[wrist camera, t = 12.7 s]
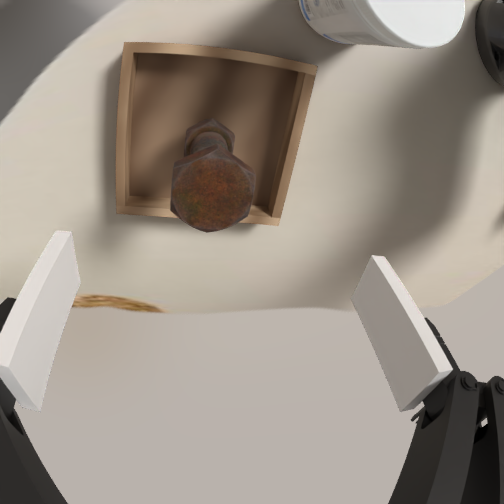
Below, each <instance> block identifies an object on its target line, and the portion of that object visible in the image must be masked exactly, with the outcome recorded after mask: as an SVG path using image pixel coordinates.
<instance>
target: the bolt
mask: <svg viewBox="0 0 504 504" xmlns="http://www.w3.org/2000/svg"><path fill="white" fill-rule="evenodd" d="M234 142H235V135H234V133H233V132H232V131H231V130H229V129H228V128H227V127H225V126H224V125H223V124H221V123H220V122H218V121H217V120H215V119H213V118H210V119H204V121H200V122H198V123H197V124H195V125H193V126H191V127H189V128H187V130H186V137H185V146H184V157H183V158H182V159H179V160H177V161H175V162H174V166H173V174H172V184H171V199H170V211H171V212H172V213H174V214H175V215H176V216H177V217H178V218H179V219H181V220H182V221H184V222H185V223H187V224H188V225H190V226H192V227H193V228H196V229H198V230H201V231H204V232H214V231H218V230H222V229H225V228H228V227H230V226H233V225H235V224H237V223H238V222H240V221H242V220H243V219H245V218H246V217H248V215H249V212H250V209H251V205H252V200H253V194H254V189H255V181H256V174H255V172H254V169H253V168H251V167H250V166H249V165H247V164H246V163H244V162H243V161H242V160H240V159H239V158H238V157H236V156H235V155H233V149H234Z"/></svg>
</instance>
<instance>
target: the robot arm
mask: <svg viewBox="0 0 504 504" xmlns="http://www.w3.org/2000/svg"><path fill="white" fill-rule="evenodd" d="M476 37H477V43H478V48H479V51H480V55H481V57H482V60H483V62H484V65H485V67H486V69H487V70H488V72H489V73H490V75H491V76H492V77H493V78H494V80H495V81H497V82H498V83H499V84H501V85H502V86H504V0H483V1H482V3H481V4H480V6H479V9H478V12H477V17H476ZM80 283H81V281H80V276H79V271H78V265H77V260H76V254H75V248H74V242H73V235H72V231H58V230H56V231H55V233H54V234H53V236H52V238H51V239H50V241H49V242H48V244H47V246H46V247H45V249H44V251H43V252H42V254H41V256H40V257H39V259H38V261H37V263H36V264H35V266H34V268H33V269H32V271H31V273H30V275H29V277H28V278H27V280H26V282H25V284H24V286H23V288H22V290H21V292H20V293H19V295H18V297H17V299H14V298H7V299H6V300H4V301H3V303H1V304H0V504H68V503H67V502H66V500H65V499H64V497H63V496H62V494H61V493H60V492H59V490H58V488H57V487H56V485H55V484H54V482H53V480H52V479H51V477H50V476H49V474H48V472H47V471H46V469H45V467H44V465H43V464H42V462H41V460H40V458H39V457H38V455H37V453H36V451H35V449H34V447H33V446H32V443H31V442H30V440H29V438H28V436H27V434H26V432H25V430H24V427H23V425H22V423H21V421H20V419H19V417H18V415H17V412H16V411H15V409H14V405H15V401H16V400H17V402H18V403H19V404H20V406H21V407H22V408H26V409H30V410H34V411H38V412H41V407H42V403H43V399H44V394H45V391H46V387H47V383H48V379H49V376H50V372H51V368H52V365H53V361H54V358H55V355H56V352H57V348H58V345H59V342H60V339H61V336H62V333H63V330H64V327H65V324H66V321H67V318H68V315H69V312H70V310H71V307H72V304H73V302H74V299H75V296H76V294H77V291H78V288H79V286H80ZM351 300H352V302H353V304H354V306H355V309H356V311H357V313H358V315H359V317H360V319H361V321H362V324H363V326H364V328H365V330H366V332H367V335H368V337H369V339H370V341H371V343H372V346H373V348H374V350H375V353H376V355H377V357H378V360H379V362H380V364H381V367H382V369H383V371H384V374H385V376H386V378H387V381H388V383H389V386H390V388H391V390H392V392H393V395H394V398H395V400H396V402H397V405H398V408H399V410H400V412H402V411H406V410H410V409H414V408H415V407H416V406H417V405H418V404H420V403H421V401H423V403H424V405H425V406H424V407H423V408H422V409H421V410H420V411H419V412H418V413H416V414H415V415H414V416H413V417H412V419H411V421H414V420H415V419H416V418H417V417H418V416H419V419H418V421H417V422H416V423H417V426H416V429H415V432H414V436H413V439H412V442H411V445H410V448H409V451H408V454H407V457H406V460H405V463H404V465H403V468H402V471H401V474H400V476H399V479H398V482H397V484H396V486H395V489H394V491H393V494H392V496H391V498H390V501H389V503H388V504H504V379H503V378H501V377H499V376H494V377H492V378H491V379H490V380H489V381H488V382H487V383H482V382H477V380H476V379H475V377H474V376H473V375H472V374H470V373H469V372H466V371H460V369H459V368H458V366H457V364H456V362H455V360H454V358H453V357H452V355H451V353H450V351H449V350H448V348H447V346H446V345H445V344H444V343H445V342H444V341H443V339H442V337H440V334H439V332H438V331H437V329H436V327H435V326H434V325H433V324H432V323H431V322H430V321H429V320H428V319H427V318H424V317H423V316H422V314H421V313H420V311H419V309H418V307H417V306H416V304H415V303H414V301H413V299H412V298H411V296H410V295H409V293H408V291H407V290H406V288H405V287H404V285H403V284H402V282H401V281H400V279H399V277H398V276H397V274H396V273H395V271H394V270H393V268H392V267H391V265H390V264H389V262H388V261H387V259H386V258H385V257H384V256H374V255H371V257H370V259H369V262H368V264H367V266H366V268H365V270H364V272H363V274H362V277H361V279H360V281H359V283H358V285H357V287H356V289H355V291H354V293H353V295H352V297H351ZM485 418H487V421H488V424H486V425H485V426H484V427H482V425H481V422H482V421H483V420H484V419H485Z"/></svg>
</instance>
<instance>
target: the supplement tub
mask: <svg viewBox="0 0 504 504" xmlns="http://www.w3.org/2000/svg"><path fill="white" fill-rule="evenodd" d="M299 6H300V10H301V12H302V15H303V17H304V18H305V20H306V22H307V23H308V24H309V25H310V26H311V28H312V29H313V30H315V31H316V32H317V33H318V34H320V35H321V36H323V37H325V38H327V39H329V40H331V41H334V42H338V43H342V44H361V45H379V46H392V47H402V48H414V49H421V48H436V47H439V46H442V45H445V44H447V43H448V42H450V41H451V40H452V39H453V38H454V37H455V36H456V35H457V33H458V32H459V30H460V28H461V26H462V23H463V19H464V13H465V2H464V0H299Z"/></svg>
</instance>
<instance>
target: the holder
mask: <svg viewBox="0 0 504 504" xmlns="http://www.w3.org/2000/svg"><path fill="white" fill-rule="evenodd" d="M317 67H318V66H315V65H311V64H307V63H303V62H299V61H294V60H290V59H285V58H280V57H276V56H270V55H265V54H260V53H254V52H248V51H241V50H234V49H227V48H219V47H210V46H201V45H189V44H174V43H150V42H124V47H123V55H122V64H121V73H120V83H119V95H118V110H117V129H116V213H117V214H128V215H145V216H160V217H175V218H178V217H177V216H176V215H175V214H174V213H172V212H171V211H170V199H171V184H172V174H173V166H174V162H175V161H177V160H179V159H182V158H183V157H184V146H185V137H186V130H187V128H189V127H191V126H193V125H195V124H197V123H198V122H200V121H204V119H210V118H213V119H215V120H217V121H218V122H220V123H221V124H223V125H224V126H225V127H227V128H228V129H229V130H231V131H232V132H233V133H234V135H235V142H234V149H233V155H235V156H236V157H238V158H239V159H240V160H242V161H243V162H244V163H246V164H247V165H249V166H250V167H251V168H253V169H254V172H255V174H256V181H255V189H254V194H253V200H252V205H251V209H250V212H249V215H248V217H246V218H245V219H243V220H242V221H240V223H252V224H264V225H275V226H279V222H280V218H281V214H282V210H283V206H284V202H285V199H286V195H287V191H288V187H289V183H290V179H291V175H292V171H293V167H294V163H295V159H296V155H297V151H298V147H299V142H300V138H301V134H302V130H303V126H304V122H305V118H306V114H307V109H308V105H309V101H310V97H311V93H312V88H313V84H314V80H315V76H316V71H317Z"/></svg>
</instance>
